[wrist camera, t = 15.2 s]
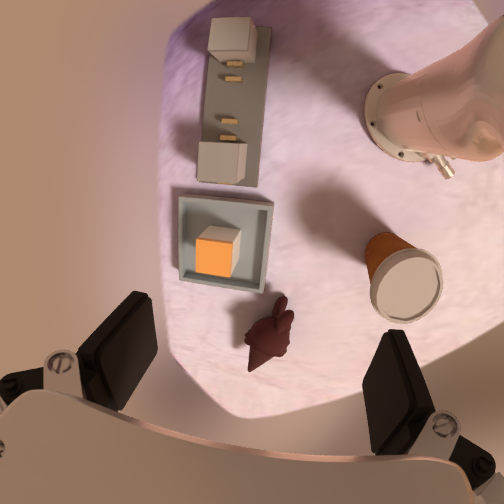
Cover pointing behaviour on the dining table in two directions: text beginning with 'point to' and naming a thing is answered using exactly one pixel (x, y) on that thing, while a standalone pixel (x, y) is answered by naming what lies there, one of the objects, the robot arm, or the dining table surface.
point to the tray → (231, 216)
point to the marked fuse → (218, 251)
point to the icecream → (270, 335)
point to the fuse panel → (238, 104)
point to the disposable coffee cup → (402, 279)
